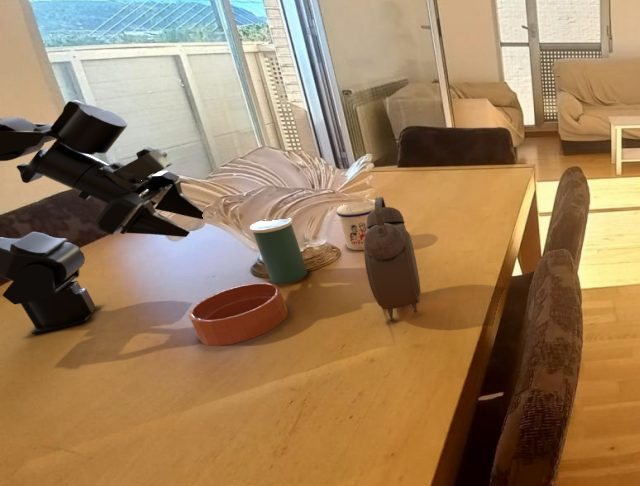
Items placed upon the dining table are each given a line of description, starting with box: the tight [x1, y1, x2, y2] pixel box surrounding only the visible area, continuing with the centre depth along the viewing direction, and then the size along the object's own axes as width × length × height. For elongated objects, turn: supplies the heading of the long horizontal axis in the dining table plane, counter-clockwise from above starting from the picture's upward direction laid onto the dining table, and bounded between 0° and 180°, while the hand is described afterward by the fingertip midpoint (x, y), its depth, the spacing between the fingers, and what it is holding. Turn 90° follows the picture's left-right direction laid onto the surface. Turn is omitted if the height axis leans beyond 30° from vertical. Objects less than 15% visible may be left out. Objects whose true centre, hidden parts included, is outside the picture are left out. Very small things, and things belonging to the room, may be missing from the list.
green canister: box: [249, 217, 308, 285], centre depth 93 cm, size 7×7×12 cm
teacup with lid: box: [336, 198, 375, 251], centre depth 109 cm, size 12×9×12 cm
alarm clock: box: [363, 196, 421, 323], centre depth 80 cm, size 15×7×20 cm, turn 23°
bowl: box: [187, 282, 289, 347], centre depth 78 cm, size 12×12×5 cm
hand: (197, 225), depth 86 cm, fingers open, 9 cm apart
